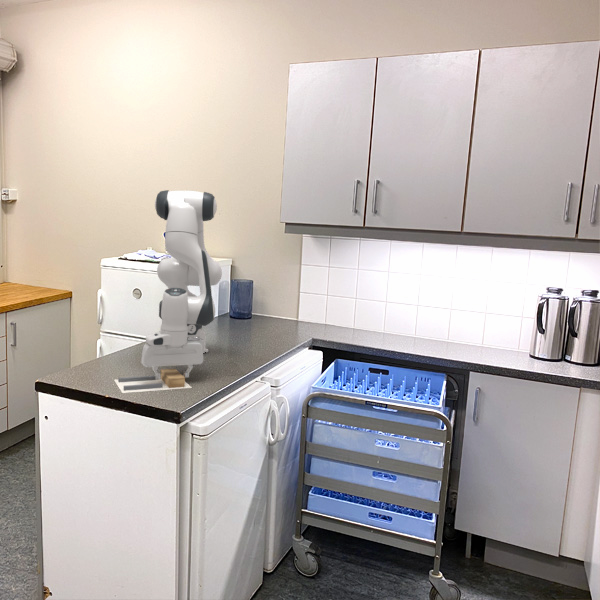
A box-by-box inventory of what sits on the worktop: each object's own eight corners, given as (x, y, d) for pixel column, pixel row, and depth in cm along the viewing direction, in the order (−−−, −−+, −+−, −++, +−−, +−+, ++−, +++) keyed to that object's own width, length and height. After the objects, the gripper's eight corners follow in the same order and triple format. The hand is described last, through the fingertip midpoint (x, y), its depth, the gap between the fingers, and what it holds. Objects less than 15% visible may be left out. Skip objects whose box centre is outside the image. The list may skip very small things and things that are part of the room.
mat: (113, 381, 187) (114, 376, 187) (179, 377, 197) (179, 372, 197) (122, 394, 174) (122, 389, 173) (191, 389, 184) (192, 384, 184)
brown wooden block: (160, 377, 192) (160, 369, 192) (174, 377, 195) (175, 368, 194) (169, 387, 182) (169, 378, 182) (184, 386, 184) (184, 377, 184)
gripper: (201, 334, 194) (199, 373, 196) (140, 336, 184) (139, 377, 186) (207, 338, 188) (205, 378, 190) (145, 340, 179) (143, 382, 181)
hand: (172, 378), depth 188 cm, fingers open, 8 cm apart
